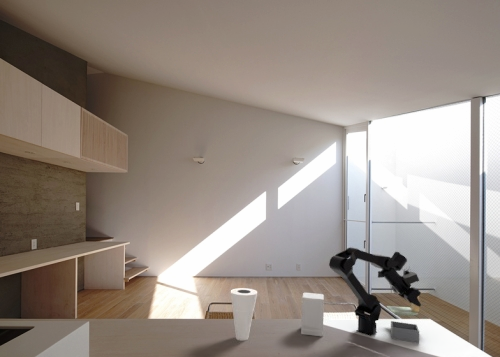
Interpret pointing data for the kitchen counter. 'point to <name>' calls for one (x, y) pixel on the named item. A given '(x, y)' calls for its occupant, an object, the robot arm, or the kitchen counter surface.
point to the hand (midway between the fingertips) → (418, 304)
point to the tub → (404, 332)
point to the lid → (405, 310)
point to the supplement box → (312, 314)
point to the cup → (243, 310)
